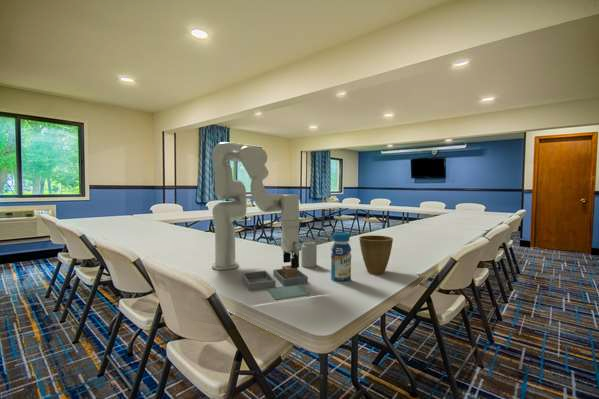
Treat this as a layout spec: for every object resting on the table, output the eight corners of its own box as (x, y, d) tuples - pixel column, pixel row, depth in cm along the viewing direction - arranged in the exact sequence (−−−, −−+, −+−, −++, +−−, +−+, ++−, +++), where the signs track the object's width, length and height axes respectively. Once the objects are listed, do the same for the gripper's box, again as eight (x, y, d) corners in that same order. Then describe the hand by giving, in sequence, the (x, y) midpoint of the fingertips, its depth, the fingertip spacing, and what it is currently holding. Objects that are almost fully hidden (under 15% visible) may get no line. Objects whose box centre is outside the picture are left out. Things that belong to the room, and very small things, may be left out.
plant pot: (394, 269, 134) (394, 236, 133) (390, 279, 120) (390, 241, 119) (362, 266, 140) (363, 234, 139) (355, 274, 126) (355, 238, 126)
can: (315, 269, 134) (315, 244, 133) (299, 268, 135) (300, 243, 135) (317, 265, 141) (317, 241, 141) (302, 264, 143) (302, 240, 142)
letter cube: (282, 277, 120) (282, 266, 119) (293, 276, 121) (293, 264, 121) (286, 281, 115) (286, 269, 115) (297, 280, 117) (297, 267, 117)
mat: (266, 290, 106) (266, 288, 106) (299, 286, 111) (299, 284, 111) (275, 301, 96) (275, 299, 96) (310, 296, 101) (310, 293, 101)
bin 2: (273, 276, 123) (273, 269, 123) (295, 274, 127) (295, 267, 127) (283, 287, 110) (283, 279, 110) (307, 284, 113) (307, 276, 113)
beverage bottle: (339, 276, 123) (339, 230, 123) (355, 280, 117) (355, 233, 117) (326, 280, 118) (326, 233, 117) (342, 285, 112) (343, 235, 111)
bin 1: (242, 280, 118) (242, 273, 118) (265, 277, 122) (265, 270, 122) (249, 291, 105) (248, 284, 105) (275, 288, 109) (275, 280, 108)
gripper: (275, 222, 124) (276, 261, 124) (288, 226, 108) (289, 271, 108) (291, 221, 127) (292, 259, 127) (306, 225, 110) (307, 269, 111)
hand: (290, 264), depth 118 cm, fingers open, 9 cm apart
